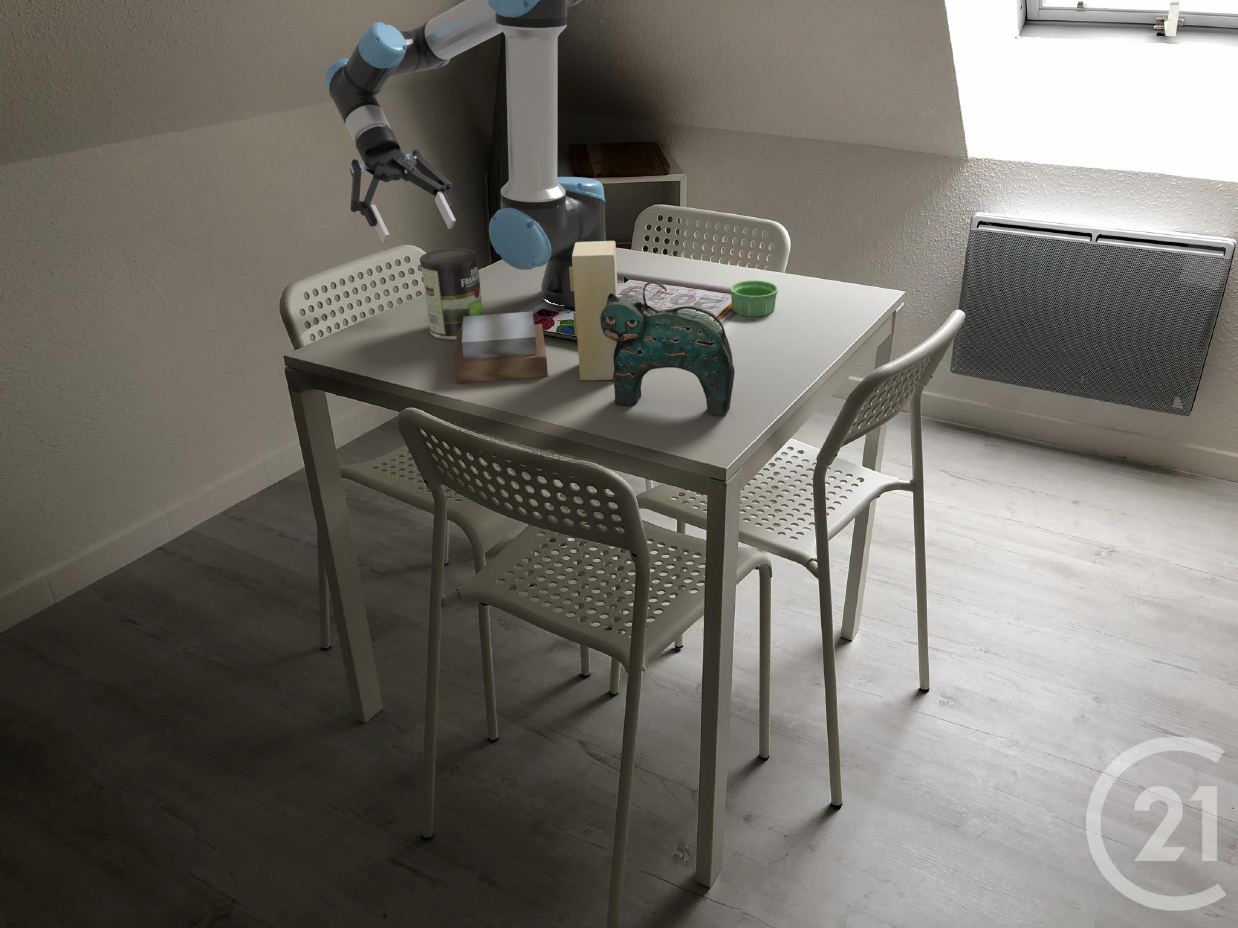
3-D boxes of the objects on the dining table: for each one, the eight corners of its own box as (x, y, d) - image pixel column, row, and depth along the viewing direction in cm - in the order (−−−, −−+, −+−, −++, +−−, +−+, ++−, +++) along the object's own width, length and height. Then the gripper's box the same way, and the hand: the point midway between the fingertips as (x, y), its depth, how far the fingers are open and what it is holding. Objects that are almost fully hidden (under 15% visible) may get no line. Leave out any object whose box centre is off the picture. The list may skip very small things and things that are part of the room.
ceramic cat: (602, 406, 151) (596, 282, 141) (615, 389, 156) (611, 268, 146) (727, 422, 145) (730, 293, 135) (737, 403, 150) (740, 278, 140)
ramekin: (719, 309, 186) (720, 287, 184) (752, 298, 191) (753, 277, 188) (753, 322, 180) (754, 299, 178) (786, 310, 184) (788, 288, 182)
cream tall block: (578, 362, 166) (571, 241, 156) (621, 361, 166) (616, 240, 155) (574, 381, 159) (567, 256, 149) (619, 380, 159) (615, 255, 148)
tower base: (543, 342, 174) (540, 307, 171) (547, 376, 161) (545, 339, 158) (459, 348, 173) (454, 314, 170) (456, 383, 160) (452, 346, 157)
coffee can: (494, 322, 184) (487, 249, 177) (469, 342, 175) (460, 267, 168) (446, 317, 187) (437, 245, 180) (419, 337, 179) (408, 262, 172)
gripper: (427, 140, 193) (473, 230, 190) (307, 159, 181) (353, 256, 178) (437, 115, 187) (483, 208, 184) (312, 134, 174) (360, 233, 171)
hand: (419, 232), depth 181 cm, fingers open, 13 cm apart
